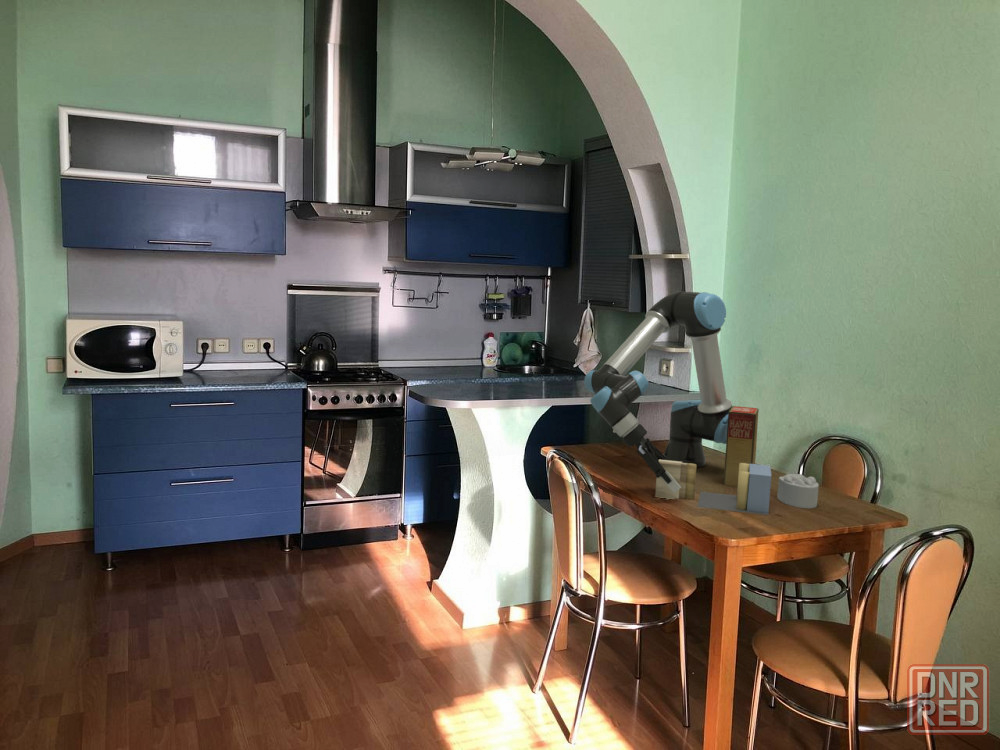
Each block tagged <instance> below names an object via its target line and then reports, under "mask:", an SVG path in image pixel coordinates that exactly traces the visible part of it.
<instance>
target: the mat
mask: <svg viewBox="0 0 1000 750" xmlns="http://www.w3.org/2000/svg"><path fill="white" fill-rule="evenodd" d="M697 502H698V503H697V507H698V508H704V509H712V510H713V509H714V510H721V511H732V512H739V513H748V514H754V515H755V514H757V515H765V516H769V512H768V513H763V512H755V511H747V510H739V509H737V508H736V505H737V494H734V495H733V494H724V493H716V492H708V491H700V493H699V498H698V501H697Z"/></svg>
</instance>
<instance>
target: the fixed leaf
mask: <svg viewBox="0 0 1000 750" xmlns="http://www.w3.org/2000/svg"><path fill="white" fill-rule="evenodd" d="M771 485H772V470H771V465H769V464H758V463H755V464H747V463H740V464H739V476H738V486H737V487H736V488H737V489H736V496H737V505H736V508H737V509H739V510H747V511H755V512H763V513H768V514H769V511H770V510H769V509H770V498H771V487H772V486H771Z"/></svg>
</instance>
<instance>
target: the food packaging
mask: <svg viewBox="0 0 1000 750" xmlns="http://www.w3.org/2000/svg"><path fill="white" fill-rule="evenodd" d="M758 423H759V408H758V407H748V406H747V407H746V406H740V405H739V406H738V405H737V406H736V405H732V408H731V409H730V410H729V412H728V427H727V441H726V444H725V445H726V446H725V457H724V468H723V469H724V470H723V471H724V472H723V485H726V486H732V487H738V476H739V464H740V463H747V464H756V455H757V438H758Z"/></svg>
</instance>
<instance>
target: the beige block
mask: <svg viewBox="0 0 1000 750" xmlns="http://www.w3.org/2000/svg"><path fill="white" fill-rule="evenodd" d="M659 462H660V464H661V465H662V467H663V468H664V469H665V471H668V473H669V474H670V475H671V476H672V477H673V478H674V480H675V481H676V482H677V483H678V484H679V485H680V486H681V488H680V489H679V490H678V491H676V492H675V493H673V491H672V490H671V489H670V488H669V487H668V486H667V484H666V483H665V482H664V481H663V480H662V479H661V478H660V477H659V478H657V477H656V480H655V495H654V497H660V498H666V499H665V500H669V499H674V500H673V501H675V500H676V499H677V500H679V499H680V498H681V499H686V500H694V499H695V492H696V491H695V490H696V480H697V479H696V478H697V477H696V476H697V467H696V466H697V465H696V464H692V463H682V462H679V461H670V460H660V459H659ZM660 498H659V499H660Z"/></svg>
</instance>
